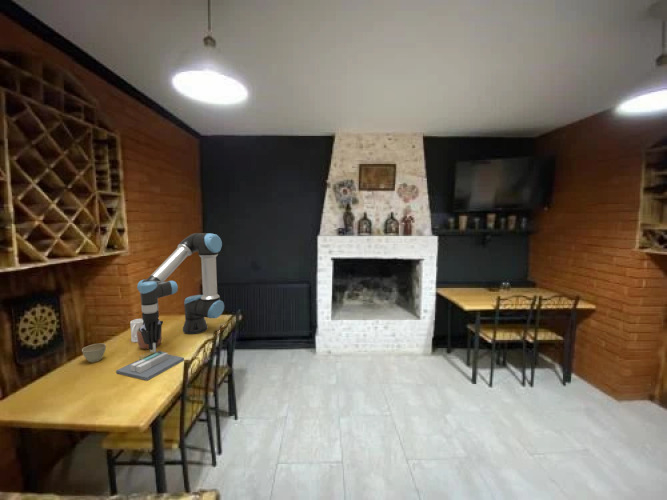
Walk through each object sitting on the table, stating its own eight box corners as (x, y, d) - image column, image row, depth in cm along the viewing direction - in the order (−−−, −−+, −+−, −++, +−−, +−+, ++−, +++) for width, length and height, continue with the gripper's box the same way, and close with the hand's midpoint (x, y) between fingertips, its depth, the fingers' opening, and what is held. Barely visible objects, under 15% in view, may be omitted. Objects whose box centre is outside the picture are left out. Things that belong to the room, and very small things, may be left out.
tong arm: (159, 357, 168) (159, 351, 167) (163, 357, 167) (162, 352, 167) (131, 370, 153) (130, 364, 153) (134, 371, 152) (134, 365, 152)
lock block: (149, 357, 168) (149, 351, 167) (154, 358, 167) (154, 352, 166) (139, 361, 162) (139, 356, 162) (144, 363, 161) (144, 357, 161)
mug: (138, 344, 188) (137, 324, 186) (124, 344, 188) (123, 324, 186) (150, 336, 199) (149, 318, 198) (136, 336, 199) (135, 318, 198)
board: (157, 353, 176) (157, 344, 175) (186, 359, 169) (185, 349, 168) (116, 373, 154) (115, 362, 153) (147, 380, 147) (146, 369, 146)
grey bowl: (81, 360, 167) (80, 347, 166) (104, 354, 174) (103, 341, 174) (85, 366, 160) (84, 353, 159) (108, 360, 168) (107, 347, 167)
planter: (140, 353, 176) (139, 334, 175) (136, 346, 185) (134, 328, 184) (164, 347, 184) (163, 328, 183) (159, 340, 194) (158, 323, 192)
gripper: (155, 307, 172) (158, 348, 175) (133, 314, 160) (136, 358, 163) (166, 308, 170) (168, 350, 172) (144, 316, 158) (147, 361, 160)
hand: (153, 354), depth 168 cm, fingers closed
